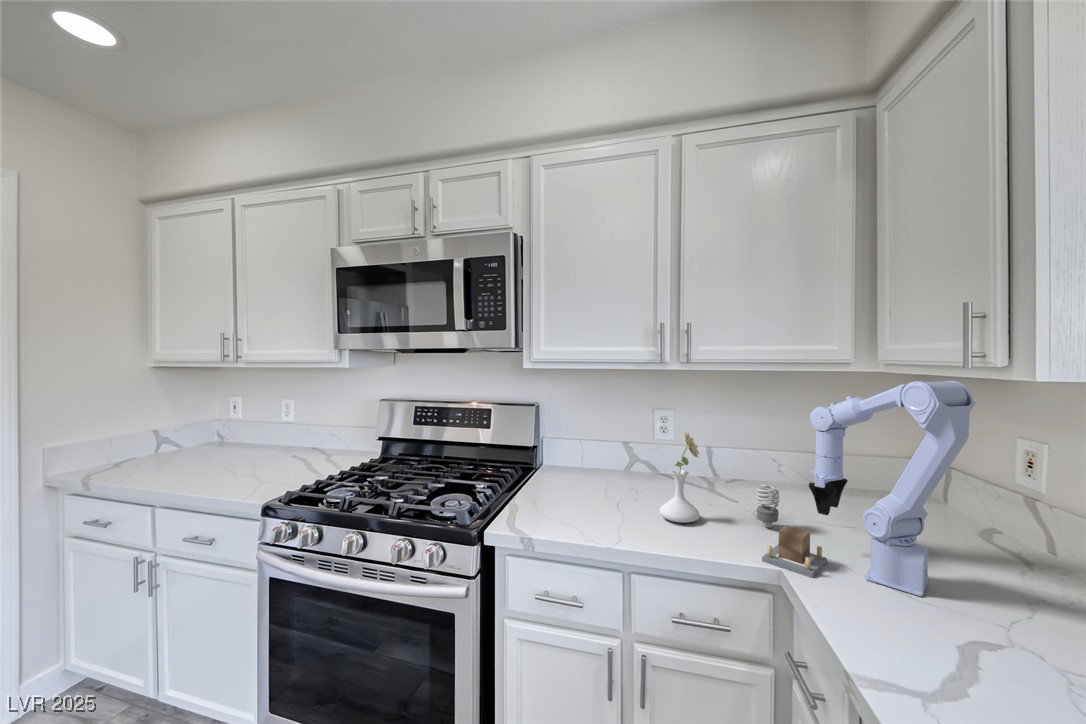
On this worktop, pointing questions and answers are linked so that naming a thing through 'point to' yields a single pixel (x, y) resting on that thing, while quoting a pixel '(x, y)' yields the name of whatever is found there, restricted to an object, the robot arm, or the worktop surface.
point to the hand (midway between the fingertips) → (828, 510)
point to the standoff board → (807, 568)
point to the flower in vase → (681, 491)
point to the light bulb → (767, 512)
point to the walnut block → (794, 544)
